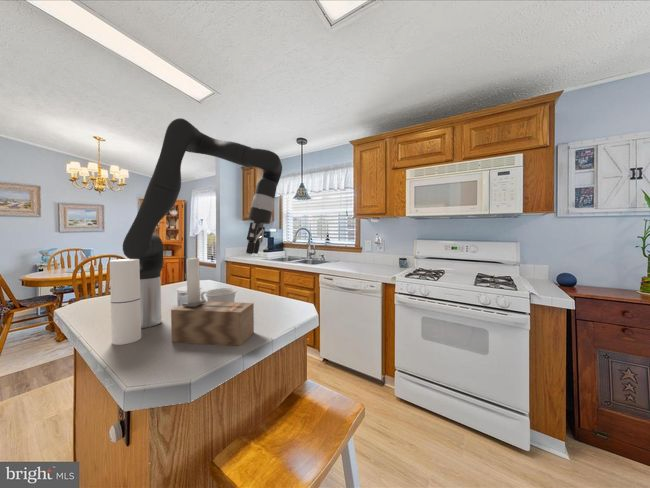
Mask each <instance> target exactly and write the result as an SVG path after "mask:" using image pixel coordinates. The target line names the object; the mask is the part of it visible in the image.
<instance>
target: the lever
mask: <svg viewBox="0 0 650 488" xmlns="http://www.w3.org/2000/svg"><path fill="white" fill-rule="evenodd" d="M200 281H201V280H200V258H199V257H192V258H191V257H190V258H189V257H188V258H186V297H187V298H186V301H185V302H182V303H181V305H182V306H188V307H196V306H198V305H200V304H202V303H205V300H201V290H200V288H201V287H200V285H201V284H200Z"/></svg>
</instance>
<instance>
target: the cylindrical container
mask: <svg viewBox="0 0 650 488" xmlns="http://www.w3.org/2000/svg"><path fill="white" fill-rule="evenodd" d="M109 287H110V288H109V289H110V319H111V344H112V345H114V346H121V345H127V344H131V343H135V342H137V341H140V340H141V339H142V328H141V306H140V267H139V259H129V258H125V259H124V258H121V259H111V260H109Z"/></svg>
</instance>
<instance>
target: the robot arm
mask: <svg viewBox="0 0 650 488" xmlns="http://www.w3.org/2000/svg"><path fill="white" fill-rule="evenodd" d="M186 152H188V153H192V154H193V153H194V154H199V155H200V154H201V155H207V156H211V157H214V158H219V159H221V160H225V161H227V162H230V163H233V164H236V165H238V166H243V167H245V168H249V169H251V168H258V169H261V170H262V174H261V177H260V179H258V181H257V183H256V187H255V191H254V196H253V198H252V201H251V206H250V211H249V214H248V220H249V221H251V222H250V223H249V228H248V231H247V237H246V240H247V242H248V243H247V245H246V246H247V247H246V250H245V251H246V252H245V253H246V254H249V255H253V254H256V255H257V254H258V253H259V250H260V245H261V244H262V242H263V239H264V234H265V230H266V228H265V226H264V225H269V224H270V223H271V219H272V215H273V211H274V207H275V206H274V205H275V198H276V193H277V187H278V185H279V183H280V179H281V176H282V172H283V164H282V161H281V159H280V157H279V155H278V154H277V153H276V152H273V151H272V150H269V149H263V148H262V149H261V148H255V147H251V146H248V145H245V144H243V143H239V142H234V141H227V140H222V139H221V140H220V139H216V138H215V137H214V138H213V137H212V136H209V135H207V134H205V133H203V132H202V131H200V130H199V129H198V128H197V127H195V126H194V124H192V123H191V122H190V121H188V120H186V119H185V118H182V117H178V118H175V119H173V120H171V121H170V123H169V124H168V126H167V128H166V130H165V135H164V137H163V141H162V146H161V150H160V153H159V157H158V160H157V162H156V165H155V168H154V171H153V173H152V175H151V178H150V179H149V183H148V185H147V188H146V191H145V194H144V196H143V199H142V202H141V204H140V206H139V209H138V211H137V214H136V216H135V218H134V220H133V222H132V224H131V226H130V228H128V229H129V230H128V232H127V233H126V235H125V237H124V239H123V243H122V252H123V254H124V256H125V257H126V259H139V267H140V306H141V329H145V328H151V327H153V326H157V325H159V324H161V323H162V287H161V286H162V285H161V283H162V281H161V278H162V277H161V272H162V270H163V267H164V266H163V265H164V243H163V240H162V239H161V237H160V236H159V235H157V234H155V233H154V232H155V230H156V228H157V226H158V224H159V223H160V222H161V221H162V220H163V218H164V217H165V216H166V215H167V214H168V213H170V211H171V210H172V209H173V207H174V206H175V204H176V202H177V200H178V197H179V194H180V192H181V189H182V172H181V171H182V170H181V169H182V168H181V167H182V163H183V158H184V156H185V154H186Z"/></svg>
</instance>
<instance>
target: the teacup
mask: <svg viewBox="0 0 650 488" xmlns="http://www.w3.org/2000/svg"><path fill="white" fill-rule="evenodd" d="M237 292H238V290H237V289H236V288H232V287H231V288H229V287H226V288H215V289H209V290H207V291H206V290H203V291H202V292H200V300H205V301H206V302H235V298H236V293H237ZM204 295H205V296H206V298H205V296H204Z"/></svg>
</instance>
